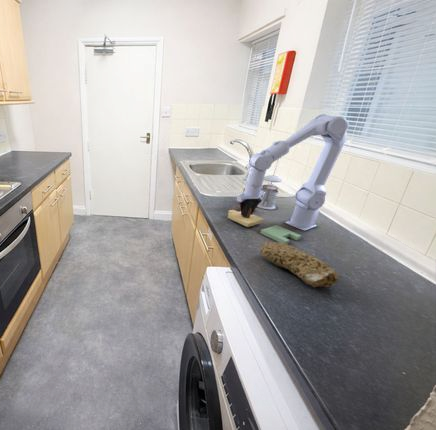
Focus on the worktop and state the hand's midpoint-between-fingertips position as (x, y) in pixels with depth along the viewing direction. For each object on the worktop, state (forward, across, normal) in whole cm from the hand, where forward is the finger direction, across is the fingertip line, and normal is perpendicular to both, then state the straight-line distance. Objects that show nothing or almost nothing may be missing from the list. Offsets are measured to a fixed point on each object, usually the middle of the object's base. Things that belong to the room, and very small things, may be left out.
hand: (246, 214), depth 112 cm
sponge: (+4, +15, +29) cm, 33 cm away
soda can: (+4, -12, -8) cm, 15 cm away
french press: (-9, -25, -8) cm, 28 cm away
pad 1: (+2, 0, -1) cm, 3 cm away
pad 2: (+4, -3, +14) cm, 15 cm away
